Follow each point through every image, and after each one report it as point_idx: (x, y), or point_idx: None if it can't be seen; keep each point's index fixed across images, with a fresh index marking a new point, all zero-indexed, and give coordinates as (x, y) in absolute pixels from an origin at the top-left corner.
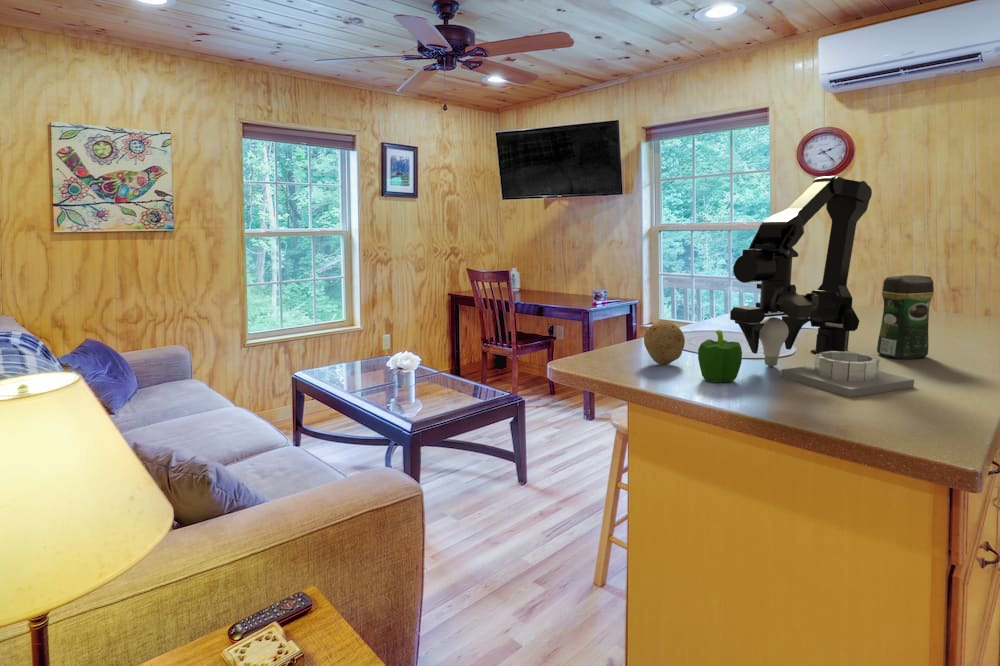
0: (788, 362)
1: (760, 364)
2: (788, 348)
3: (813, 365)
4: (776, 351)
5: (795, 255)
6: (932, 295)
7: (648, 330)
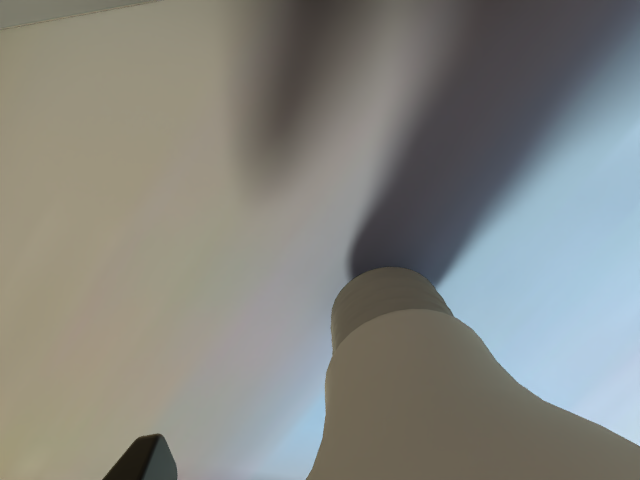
0: (128, 398)
1: None
2: (164, 451)
3: (60, 9)
4: (428, 343)
5: None
6: None
7: None
